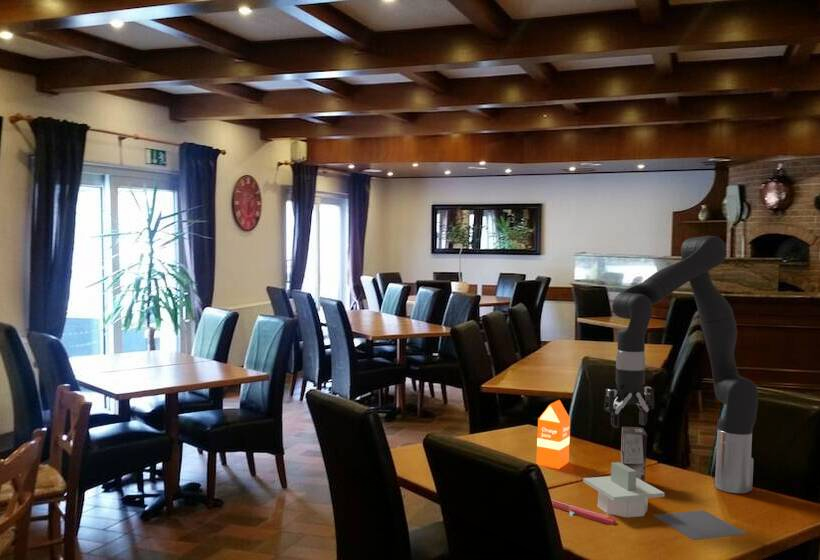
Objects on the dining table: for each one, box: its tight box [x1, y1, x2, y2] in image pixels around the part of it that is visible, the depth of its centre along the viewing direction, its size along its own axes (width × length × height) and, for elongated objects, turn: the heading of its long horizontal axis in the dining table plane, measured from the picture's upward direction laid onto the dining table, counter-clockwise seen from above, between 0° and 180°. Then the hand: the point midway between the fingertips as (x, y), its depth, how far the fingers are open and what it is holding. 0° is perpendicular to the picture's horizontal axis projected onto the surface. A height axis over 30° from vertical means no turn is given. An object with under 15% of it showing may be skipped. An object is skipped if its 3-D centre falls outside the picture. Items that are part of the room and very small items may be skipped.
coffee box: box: [620, 426, 648, 482], centre depth 213 cm, size 9×6×16 cm
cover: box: [582, 461, 665, 501], centre depth 192 cm, size 15×15×6 cm
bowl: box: [597, 491, 649, 518], centre depth 192 cm, size 12×12×6 cm
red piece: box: [551, 499, 616, 526], centre depth 189 cm, size 24×2×5 cm
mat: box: [652, 509, 748, 541], centre depth 182 cm, size 16×16×1 cm
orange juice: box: [535, 399, 571, 470], centre depth 231 cm, size 8×9×20 cm
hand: (628, 426), depth 196 cm, fingers open, 8 cm apart
